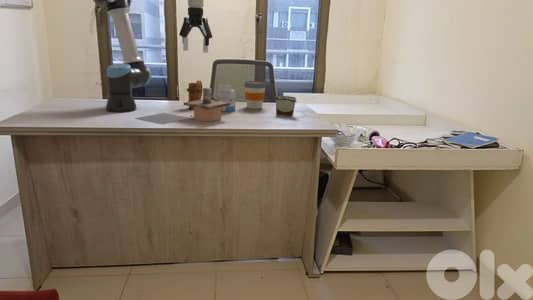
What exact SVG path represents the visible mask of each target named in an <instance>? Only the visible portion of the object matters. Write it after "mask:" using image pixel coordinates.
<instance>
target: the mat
mask: <svg viewBox="0 0 533 300" xmlns="http://www.w3.org/2000/svg"><path fill="white" fill-rule="evenodd" d="M133 119H134V120H135V119H136V120H138V121H139V120H140V121H144V122H149V123H153V124H158V125H162V126H163V125H167V124H171V123H177V122H180V121H186V120H190V119H191V117H187V116H181V115H178V114H172V113H171V114H170V113H167V112H166V113H165V112H161V113H155V114H151V115H146V116H140V117H134V118H133Z"/></svg>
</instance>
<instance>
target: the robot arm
mask: <svg viewBox="0 0 533 300" xmlns="http://www.w3.org/2000/svg"><path fill="white" fill-rule="evenodd" d="M92 1H93V2H94V4H96V5H97V6H100V7H103V8H106V12H107V14H108V15H110V16H111V19H112V22H113V26H114V30H115V33H116V37H117V41H118V44H119V47H120V50H121V51H120V52H121V56H122V58H123V61H122V63H118V64H117V63H115V64H114V63H113V64H111V65H109V66H107V68H106V77H107V78H106V79H107V87H108V88H107V90H108V97H107V100H106V104H105V110H106V111H107V112H111V113H113V112H114V113H126V112H127V113H128V112H133V111H136V110H137V104H136V101H135V98H134V96H133V89H134V88H141V87H142V88H143V87H145V86H147V85H149V83H150V81H151V79H152V71H151V69H150V67H148V66H147V65H146V64H145V61H144V59H142V57H140V53H139V50H138V45H137V42H136V38H135V34H134V31H133V26H132V23H131V20H130V15H129V13H130V11H131V8H130V7H131V5H132V4H131V3H132V2H133V1H132V0H92ZM187 15H188V17H187V16H184V17H183V22H182V25H181V28H180V31H179V36H180V37H181V38H182V41H181V42H182V48H183V51H185V52H186V51H187V52H188V51H189V37H188V36H189V34H190V32H191V31H192V29H193V28H198V29H199V31H200V32H201V34H202V37H203V39H202V40H203V41H202V44H203V45H202V53H203V54H204V53H209V46H210V39H213V34H212V31H211V28H210V25H209V22H208V20H209V19H208V18H207V17H203V16H204V0H187Z"/></svg>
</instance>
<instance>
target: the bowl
mask: <svg viewBox="0 0 533 300" xmlns="http://www.w3.org/2000/svg"><path fill="white" fill-rule="evenodd" d="M193 119H194V120H197V121H200V122H216V121H220V120H221V119H222V111H221V107H219V108H214V109H203V108H198V107H194V109H193Z"/></svg>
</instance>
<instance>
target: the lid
mask: <svg viewBox="0 0 533 300" xmlns="http://www.w3.org/2000/svg"><path fill="white" fill-rule="evenodd" d="M229 105H230V103H227V102H221V101H218V100H215V99H212V88H211V87H202V99H201V100H196V101H190V102H188V101H186V102H183V106H188V107H189V106H192V107H198V108H203V109H214V108H219V107H224V106H229Z"/></svg>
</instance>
